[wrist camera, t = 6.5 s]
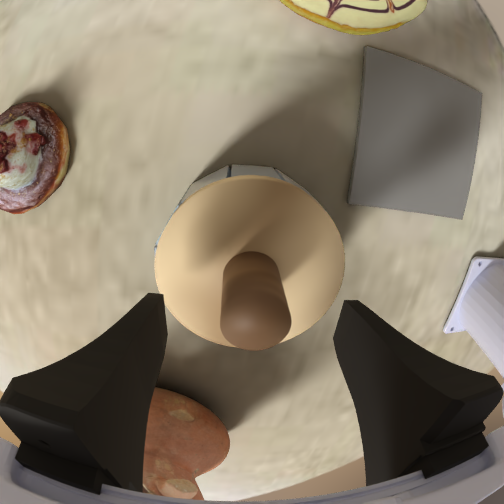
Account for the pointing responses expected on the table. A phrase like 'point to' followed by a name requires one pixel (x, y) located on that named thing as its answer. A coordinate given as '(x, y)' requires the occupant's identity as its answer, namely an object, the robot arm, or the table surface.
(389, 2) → the decorated donut
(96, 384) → the robot arm
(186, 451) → the ceramic jug
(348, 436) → the table surface
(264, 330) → the bamboo lid
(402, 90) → the rubber mat
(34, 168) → the pastry
